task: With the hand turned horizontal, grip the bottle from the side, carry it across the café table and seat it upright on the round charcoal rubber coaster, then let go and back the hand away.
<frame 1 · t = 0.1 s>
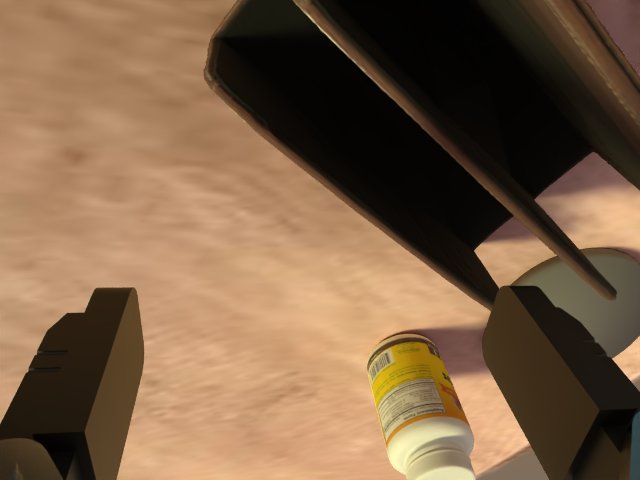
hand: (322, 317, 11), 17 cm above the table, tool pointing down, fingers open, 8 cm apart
letter holder: (419, 89, 27), on the table
supplement bottle: (400, 353, 39), on the table
coaster: (566, 313, 38), on the table
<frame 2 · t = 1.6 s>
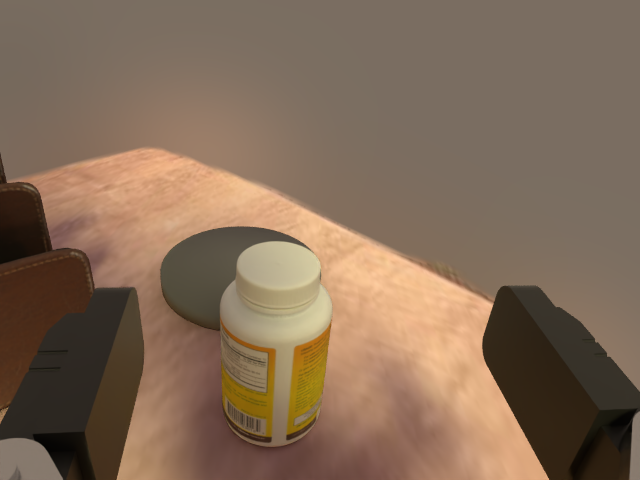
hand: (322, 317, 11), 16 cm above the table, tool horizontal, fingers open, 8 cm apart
supplement bottle: (271, 412, 29), on the table
coaster: (242, 279, 39), on the table
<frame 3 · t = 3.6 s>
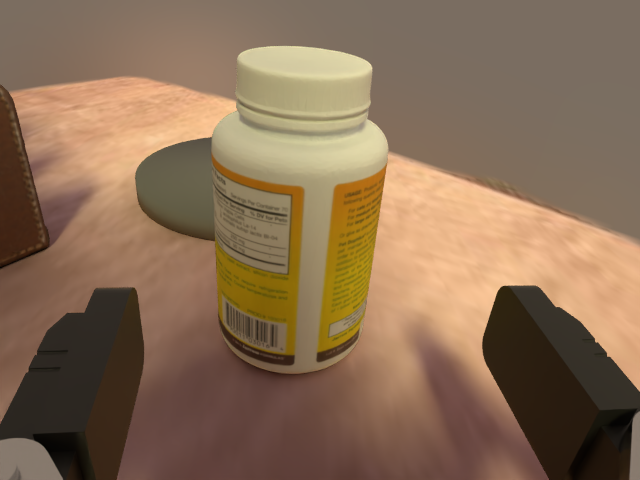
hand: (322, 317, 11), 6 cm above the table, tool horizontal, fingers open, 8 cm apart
supplement bottle: (289, 333, 20), on the table
coaster: (243, 190, 30), on the table
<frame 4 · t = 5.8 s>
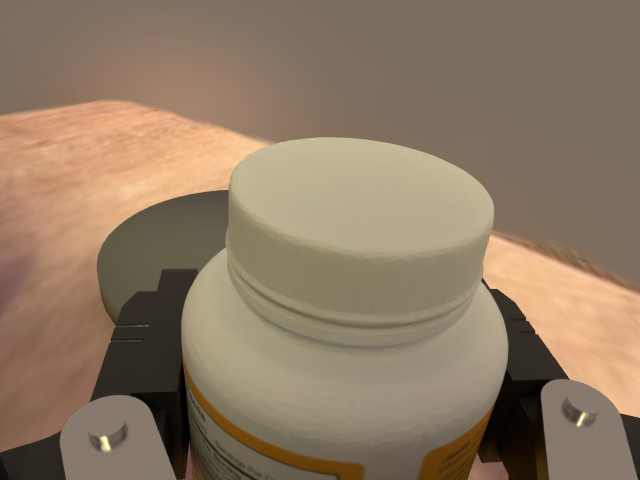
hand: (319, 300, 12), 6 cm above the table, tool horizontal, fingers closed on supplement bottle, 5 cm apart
coaster: (243, 270, 23), on the table
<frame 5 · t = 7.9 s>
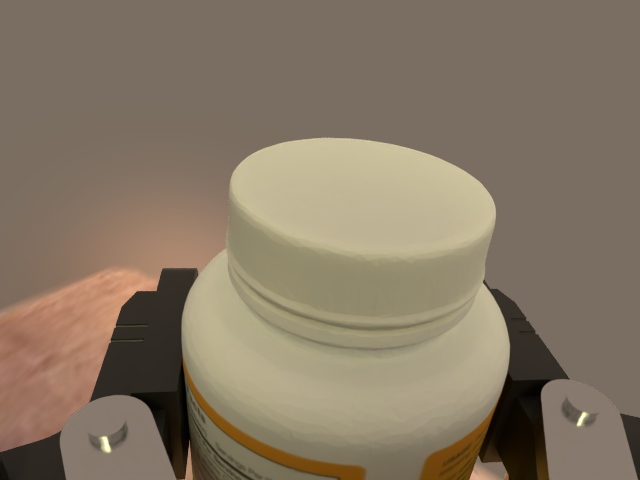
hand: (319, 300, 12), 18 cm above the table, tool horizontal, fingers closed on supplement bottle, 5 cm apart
when the fingers open (8 cm above the table, at t = 10.5 s): supplement bottle stays where it is, resting on coaster.
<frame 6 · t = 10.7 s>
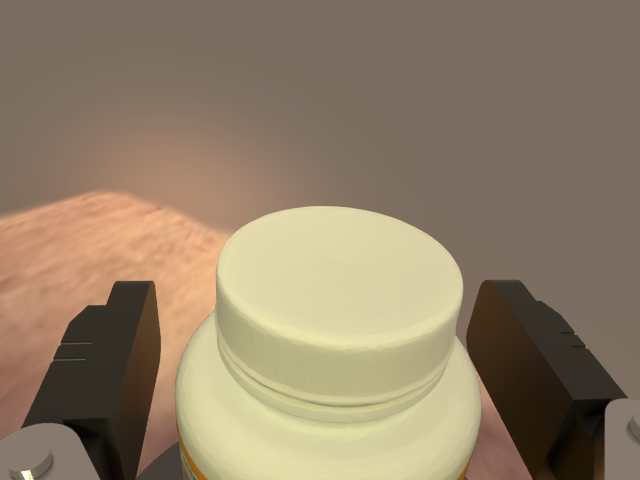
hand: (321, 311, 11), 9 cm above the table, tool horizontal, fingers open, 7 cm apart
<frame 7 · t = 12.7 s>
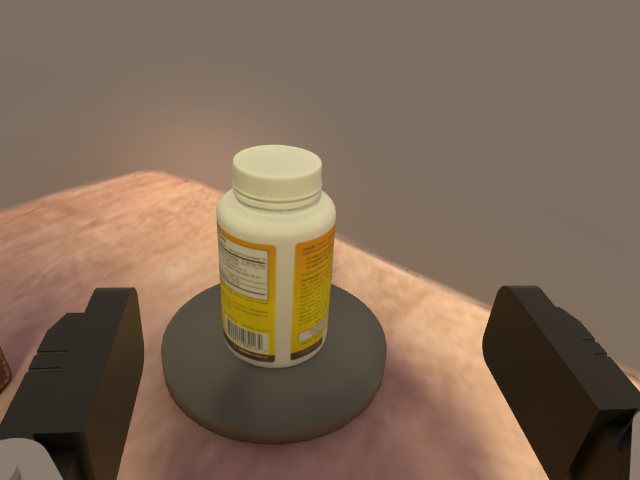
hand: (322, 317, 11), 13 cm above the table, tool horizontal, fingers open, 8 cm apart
supplement bottle: (274, 340, 28), point 1 cm above the table, touching coaster
coaster: (275, 352, 28), on the table
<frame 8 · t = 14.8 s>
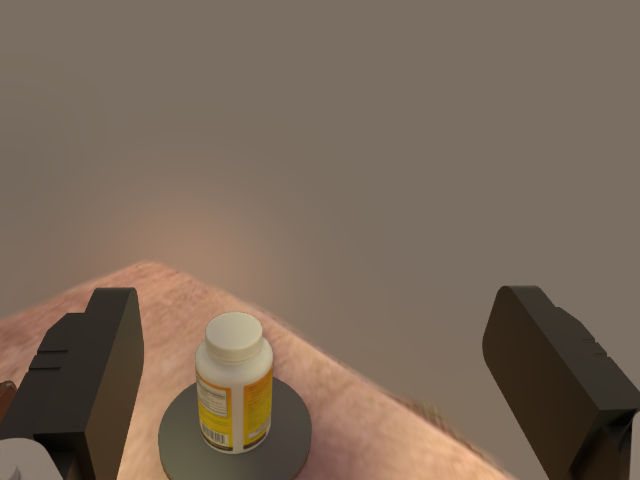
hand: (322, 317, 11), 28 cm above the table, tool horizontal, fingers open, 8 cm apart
supplement bottle: (235, 429, 41), point 1 cm above the table, touching coaster
coaster: (236, 436, 41), on the table
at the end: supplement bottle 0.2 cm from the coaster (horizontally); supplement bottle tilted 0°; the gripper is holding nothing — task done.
